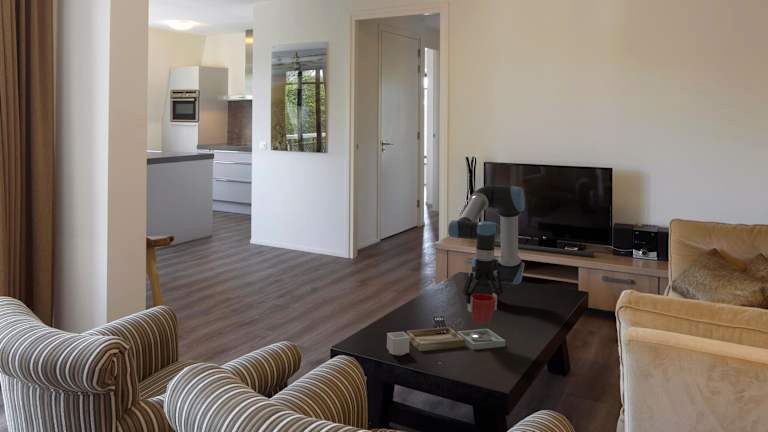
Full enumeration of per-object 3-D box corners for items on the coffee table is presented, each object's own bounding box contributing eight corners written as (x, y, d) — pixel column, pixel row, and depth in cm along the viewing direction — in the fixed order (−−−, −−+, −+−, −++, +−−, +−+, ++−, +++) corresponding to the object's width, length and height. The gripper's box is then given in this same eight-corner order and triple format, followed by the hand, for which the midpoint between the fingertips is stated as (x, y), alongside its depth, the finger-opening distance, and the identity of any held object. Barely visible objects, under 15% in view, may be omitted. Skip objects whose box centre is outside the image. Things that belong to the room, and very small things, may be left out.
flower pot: (466, 315, 254) (467, 293, 253) (491, 315, 255) (492, 293, 254) (471, 323, 244) (473, 300, 242) (497, 323, 245) (499, 300, 243)
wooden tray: (406, 337, 254) (406, 330, 253) (448, 333, 260) (448, 327, 260) (420, 351, 239) (420, 344, 238) (464, 346, 245) (465, 339, 245)
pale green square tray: (456, 337, 256) (456, 331, 255) (487, 334, 261) (487, 328, 260) (472, 349, 242) (472, 343, 241) (504, 346, 247) (505, 340, 246)
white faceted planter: (386, 349, 239) (387, 333, 238) (402, 348, 242) (403, 331, 241) (392, 356, 233) (392, 339, 232) (409, 354, 235) (409, 337, 234)
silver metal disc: (466, 334, 254) (466, 332, 254) (485, 332, 256) (485, 330, 256) (476, 341, 245) (476, 340, 245) (495, 339, 248) (495, 338, 248)
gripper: (463, 262, 238) (460, 314, 242) (514, 259, 246) (510, 310, 249) (455, 258, 246) (453, 309, 249) (504, 255, 253) (501, 305, 256)
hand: (482, 310), depth 249 cm, fingers closed on flower pot, 11 cm apart
